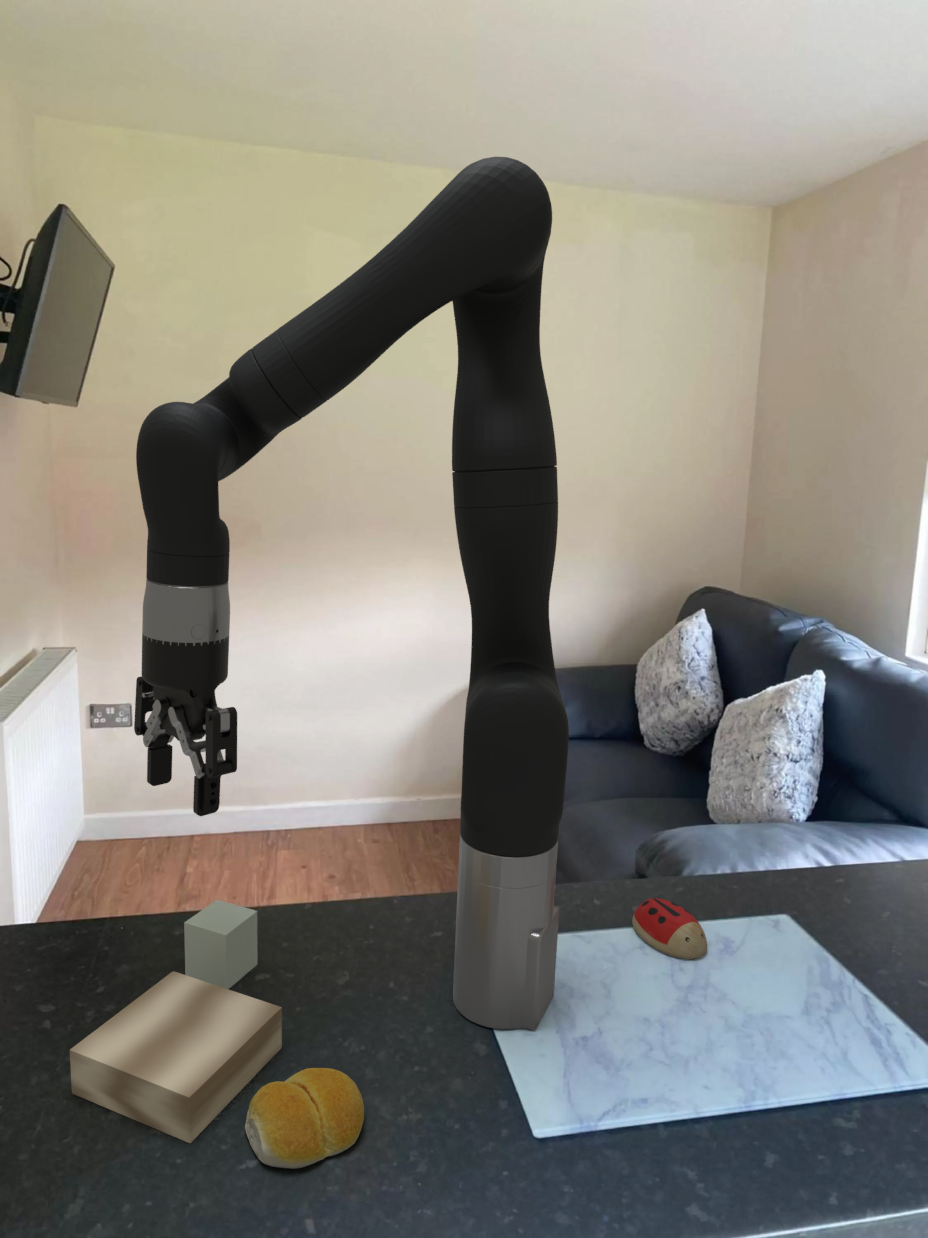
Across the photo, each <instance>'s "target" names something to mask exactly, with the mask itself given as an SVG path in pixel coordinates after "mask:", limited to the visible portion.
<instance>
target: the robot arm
mask: <svg viewBox="0 0 928 1238" xmlns="http://www.w3.org/2000/svg"><path fill="white" fill-rule="evenodd" d="M549 193H550V192H549V191H548V188H547V187H546V185H545V183H544V181H543V180H542V178H541V177H540V176H539V174H538V173H537V172H536V171H535V170H534V169H532V168H531V167H530V166H529V165H527V164H526V163H524V162H522V161H520V160H518V159H514V158H512V157H511V158H510V157H507V156H491V157H486V158H482V159H479V160H477V161H475V162H472V163H470V164H468V165H467V166H466V167H464V168H463V169H461V171H459V172H458V173H457V174H456V175H455V177H453V179H451V180H450V181H449V182H448V184H446V185H445V187H444V188H443V189H442V190H441V191H440V192H439V193H438V194H436V196H435V197H434V198H433V199H432V200H431V201H430V202H429V203H428V204H427V205H426V206H425V207H424V208H423V209H422V211H420V212H419V214H418V215H417V216H416V217H414V219H413V220H411V221H410V223H409V224H408V225H406V227H404V228H403V229H402V230H401V231H400V232H399V233H397V235H396V236H395V237H394V238H393V239H391V241H390V242H388V244H386V245H385V246H384V247H383V248H382V249H380V251H378V252H377V253H376V254H375V255H373V257H372V258H371V259H369V260H368V261H367V262H366V263H365V264H364V265H362V266H360V268H359V269H357V270H356V271H355V272H353V273H352V274H351V275H350V276H348V277H347V278H346V279H344V280H343V281H342V282H340V283H339V284H338V285H337V286H335V287H334V288H333V289H331V290H330V291H328V292H327V293H326V294H325V295H323V296H322V297H320V298H319V299H317V300H316V301H315V302H314V303H312V304H311V305H309V306H308V307H307V308H305V309H304V310H302V311H301V312H300V313H298V314H296V316H294V317H293V318H291V319H290V320H288V321H287V322H286V323H284V324H283V325H281V326H280V327H279V328H277V329H276V330H275V331H273V332H272V333H270V334H269V335H268V336H267V337H265V338H263V339H262V340H261V341H260V342H257V344H255V345H254V346H252V347H251V348H250V349H248V350H247V351H245V353H243V354H242V355H241V356H240V357H238V358H237V359H236V361H234V363H232V365H231V367H230V369H229V373H228V378H225V380H223V381H221V383H219V384H218V385H217V386H216V387H214V388H213V389H212V390H211V391H209V392H208V393H207V394H205V395H204V396H203V397H202V398H200V399H198V400H197V401H195V402H193V403H190V402H185V401H172V402H165V403H163V404H161V405H159V406H157V407H155V408H154V409H152V411H150V412H149V413H148V415H146V417H145V419H144V420H143V422H142V424H141V427H140V428H139V433H138V436H137V440H136V441H137V443H136V450H135V451H136V455H135V456H136V457H135V459H136V461H135V462H136V473H137V474H136V475H137V480H138V485H139V492H140V499H141V503H142V504H141V505H142V509H143V513H144V518H145V521H146V526H147V542H146V543H147V544H146V573H145V574H146V579H145V581H146V582H145V589H144V596H143V599H142V600H143V602H142V629H141V633H142V635H141V676H137V678H136V684H135V701H134V702H135V703H134V705H135V706H134V725H133V726H134V727H133V730H134V734H135V735H136V736H137V737H138V736H142V737H143V738H142V742H143V745H144V747H145V748H147V759H146V760H147V761H146V763H147V764H146V765H147V766H146V767H147V769H146V773H147V774H146V781H147V783H148V784H149V785H151V786H152V787H156V786H157V787H158V786H160V785H166V784H168V783H170V782H171V780H172V778H173V746H172V745H171V744H170V743H172V741H173V740H174V738H175V739H176V740H177V741H178V742H179V744H180V747H181V751H182V753H183V754H184V755H185V756H188V757H189V759H190V761H191V764H192V765H191V766H192V768H193V771H194V774H195V775H194V777H193V802H192V803H193V806H192V807H193V808H192V811H193V813H194V814H196V815H197V816H198V817H204V816H207V815H211V814H214V813H216V812H217V811H218V810H219V808H220V803H221V801H220V798H221V793H220V792H221V779H222V776H224V775H228V774H233V773H236V772H237V770H238V710H237V709H236V708H235V707H234V706H230V707H223V708H222V707H220V706H218V704H217V703H218V702H217V699H216V689H218V687H219V686H220V685H221V684H223V683H224V682H226V680H227V678H228V674H229V652H230V649H229V648H230V629H231V628H230V627H231V625H230V624H231V622H230V621H231V601H230V592H229V591H230V590H229V577H230V575H229V574H230V573H229V572H230V550H231V549H230V547H231V546H230V532H229V528H228V526H227V524H226V522H225V521H224V520H223V519H221V517H220V498H219V496H220V495H219V494H220V493H219V482H221V481H222V480H225V478H227V477H230V476H231V475H232V474H234V473H235V472H237V471H238V470H239V469H241V468H242V467H243V466H244V465H245V464H247V463H248V462H249V461H250V460H252V459H253V458H254V457H255V456H256V455H257V454H258V453H260V452H261V451H262V450H263V449H265V447H266V446H268V444H269V443H271V442H272V441H274V439H275V438H276V437H277V436H278V435H279V434H280V433H281V432H282V431H283V432H284V430H286V429H288V428H289V427H291V426H293V425H294V424H296V423H297V422H299V421H300V420H302V419H303V418H305V417H306V416H309V414H311V413H312V412H313V411H315V410H316V409H318V408H319V407H320V406H322V405H324V404H325V403H326V402H328V401H329V400H330V399H332V398H333V397H334V396H336V395H337V394H338V393H340V392H341V391H342V390H344V389H345V388H346V387H348V386H349V385H350V384H351V383H353V382H354V381H355V380H356V379H358V378H359V377H360V376H361V375H362V374H363V373H364V372H365V371H366V370H367V369H369V367H371V365H372V364H374V363H375V362H376V361H377V360H378V359H379V358H380V357H381V356H382V355H383V354H385V352H386V351H388V350H389V348H391V347H392V346H393V345H394V344H395V343H396V342H397V341H398V340H400V339H401V338H402V337H403V336H404V335H405V334H406V333H408V332H409V331H410V330H412V329H413V328H414V327H416V326H417V325H418V324H419V323H420V322H422V321H423V320H425V319H426V318H428V317H429V316H431V315H432V314H434V313H435V312H436V311H438V310H440V309H441V308H443V307H444V306H446V305H448V304H450V303H451V302H452V307H453V316H454V324H455V331H456V339H457V340H456V341H457V343H456V345H457V374H456V381H455V383H456V384H455V394H454V405H453V414H452V415H453V417H452V431H451V432H452V435H451V437H452V438H451V471H452V474H451V476H452V489H453V490H452V491H453V493H452V495H453V506H454V507H453V510H454V520H455V529H456V536H457V538H456V539H457V543H458V549H459V555H460V556H459V557H460V561H461V565H462V569H463V576H464V579H465V584H466V585H465V586H466V589H467V594H468V598H469V603H470V614H471V616H470V617H471V647H470V648H471V649H470V651H471V652H470V666H469V667H470V669H469V671H470V672H469V682H468V689H467V690H468V691H467V697H466V702H465V715H464V727H463V741H462V742H463V743H462V744H463V745H462V770H461V795H460V822H459V823H460V825H459V827H460V828H459V852H458V853H459V854H458V868H457V869H458V871H457V873H458V874H457V893H456V895H457V896H456V897H457V898H456V914H455V915H456V916H455V917H456V918H455V938H454V939H455V940H454V958H453V959H454V961H453V962H454V964H453V965H454V967H453V976H452V977H453V978H452V985H453V988H452V989H453V990H452V1000H453V1004H454V1006H455V1008H456V1009H457V1011H458V1013H460V1014H461V1015H462V1016H463V1017H465V1019H467V1020H469V1021H470V1022H473V1023H475V1024H477V1025H480V1026H481V1027H482V1026H483V1027H486V1028H491V1029H498V1030H511V1029H520V1028H522V1029H528V1030H531V1031H535V1030H536V1029H537V1028H538V1025H539V1023H540V1022H541V1020H542V1018H543V1016H544V1014H545V1012H546V1010H547V1009H548V1007H549V1005H550V1003H551V1001H552V1000H553V998H554V995H555V981H556V965H557V964H556V963H557V951H558V938H559V936H558V935H559V923H560V922H559V921H560V908H559V907H557V906H555V905H554V903H555V892H556V891H555V888H556V876H557V860H558V844H559V843H558V842H559V833H560V832H559V831H560V825H561V824H560V823H561V820H562V817H563V813H564V806H565V805H564V804H565V803H564V801H565V791H566V779H567V778H566V777H567V770H568V769H567V768H568V766H567V765H568V755H569V742H570V741H569V739H570V738H569V737H570V735H569V734H570V729H569V728H570V727H569V718H568V713H567V711H566V708H565V703H564V701H563V697H562V695H561V691H560V687H559V684H558V683H559V682H558V678H557V672H556V667H555V659H554V652H553V643H552V636H551V635H552V634H551V627H550V626H551V625H550V624H551V623H550V595H551V586H552V580H553V579H552V578H553V574H554V567H555V558H556V550H557V541H558V526H559V525H558V524H559V495H558V494H559V490H558V489H559V487H558V485H559V484H558V467H557V466H558V457H557V448H556V438H555V437H556V436H555V430H554V429H555V428H554V423H553V416H552V409H551V404H550V400H549V399H550V397H549V393H548V390H547V384H546V380H545V374H544V369H543V362H542V356H541V339H540V338H541V337H540V336H541V333H540V332H541V331H540V329H541V328H540V327H541V306H542V305H541V303H542V302H541V301H542V286H543V274H544V264H545V259H546V257H545V256H546V255H547V253H546V252H547V250H548V245H549V241H550V238H551V234H552V227H553V207H552V202H551V198H550V194H549ZM150 712H151V713H150ZM147 713H150V715H149V717H148V718H147V721H146V714H147ZM204 737H205V740H202V739H203V738H204ZM197 740H200V741H197ZM222 750H224V753H225V754H224V756H223V753H222ZM202 753H205V762H204V759H203V756H202Z"/></svg>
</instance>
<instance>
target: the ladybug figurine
mask: <svg viewBox="0 0 928 1238" xmlns="http://www.w3.org/2000/svg"><path fill="white" fill-rule="evenodd" d="M631 920H632V921H631V923H632V927H633V929H634V931H635V932H636V934H637V935H638V936H639V937H640V938H641V939H642V940H643V941H644V942H645V943H647V944H648V945H649V946H651V947H652V948H653V949H656V950H658V951H659V952H661V953H662V954H665V953H666V955H668V956H670V955H671V957H673V956H674V957H675V958H677V957H678V959H683V958H685V960H694V959H693V958H695V959H698V958H701V957H702V956H704V955H705V954H706V952H707V949H708V941H707V937H706V934H705V931H704V928H702V925H701V924H700V922H699V921H698V920H697V918H695V917H694V916H693V915H692V914H691V913H690V912H689V911H688V910H687V909H685V908H683V907H682V906H680V905H679V904H676V903H674V902H673V901H669V900H667V899H663V898H659V897H655V898H653V897H651V898H647V899H646V900H644V901H643V902H642V903H640V904H639V905H638V906H637V908H636V909H635V911H634V913H633V915H632V919H631Z"/></svg>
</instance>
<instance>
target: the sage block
mask: <svg viewBox="0 0 928 1238" xmlns="http://www.w3.org/2000/svg"><path fill="white" fill-rule="evenodd" d="M183 924H184V925H183V927H184V935H183V936H184V971H185V974H184V975H186V976H189V977H192V978H195V979H198V980H201V981H204V982H207V983H210V984H213V985H216V986H220V987H223V988H226V989H229V990H230V988H233V986H234V985H236V983H237V982H239V981H240V980H241V979H242V978H243V977H245V976H246V975H247V974H249V972H250V971H252V970H253V969H254V968H255V967H256V966H257V965H258V959H259V958H258V957H259V956H258V910H256V909H255V910H254V909H251V908H248V907H244V906H241V905H238V904H234V903H230V902H226V901H223V900H220V899H216V900H214V901H212V903H210V904H209V905H207V906H206V907H204V908H202V909H201V910H200V911H199V912H198V913H196V914H194V915H193V916H192V917H190V918H188V919H187V920H186V921H184V923H183Z"/></svg>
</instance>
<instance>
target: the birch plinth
mask: <svg viewBox="0 0 928 1238" xmlns="http://www.w3.org/2000/svg"><path fill="white" fill-rule="evenodd" d="M282 1013H283V1007H282V1006H279V1005H276V1004H273V1003H270V1002H267V1001H264V1000H263V999H262V1000H261V999H258V998H256V997H253V996H252V997H251V996H249V995H246V994H243V993H240V992H238V991H235V990H231V989H230V988H229V989H226V988H223V987H220V986H216V985H213V984H210V983H207V982H204V981H201V980H198V979H195V978H192V977H189V976H186V975H185V974H183V973H180V972H177V971H171V972H170V973H168V974H167V975H166V976H164V977H163V978H162V979H161V980H160V981H158V982H157V983H155V984H154V985H152V986H151V987H150V988H149V989H147V991H145V992H144V993H142V994H141V995H139V996H138V997H137V998H136V999H134V1000H133V1001H132V1002H130V1003H129V1004H128V1005H126V1006H125V1007H123V1009H121V1010H120V1011H119V1012H118V1013H116V1014H114V1016H113V1017H111V1018H110V1019H108V1020H107V1021H106V1022H104V1023H103V1024H102V1025H100V1026H99V1027H98V1028H97V1029H95V1030H94V1031H92V1032H91V1033H90V1034H88V1035H87V1036H86V1037H85V1038H83V1039H82V1040H81V1041H79V1042H78V1043H76V1044H75V1045H73V1047H72V1048H70V1049H69V1063H70V1064H69V1065H70V1080H71V1081H70V1084H71V1085H70V1086H71V1095H74V1096H76V1097H78V1098H82V1099H84V1100H87V1101H89V1102H92V1103H94V1104H95V1105H98V1106H101V1107H103V1108H105V1109H108V1110H110V1111H112V1112H115V1113H117V1114H119V1115H122V1116H124V1117H127V1118H128V1119H131V1120H133V1121H136V1122H138V1123H140V1124H144V1125H145V1126H148V1127H150V1128H153V1129H155V1130H157V1131H160V1132H162V1133H164V1134H166V1135H169V1136H172V1137H174V1138H175V1139H176V1138H177V1140H181V1141H183V1142H186V1143H188V1144H192V1142H194V1141H195V1139H196V1138H198V1137H199V1135H200V1133H202V1132H203V1131H204V1130H205V1129H206V1127H208V1125H210V1124H211V1123H212V1121H213V1120H214V1119H216V1118H217V1116H218V1115H219V1114H220V1113H221V1112H222V1111H223V1110H224V1109H225V1108H226V1107H227V1106H228V1104H230V1102H232V1101H233V1099H235V1097H236V1096H237V1095H238V1094H239V1093H240V1092H241V1091H242V1090H243V1089H244V1088H245V1087H246V1086H247V1085H248V1084H249V1083H250V1082H251V1080H252V1079H254V1077H256V1075H257V1074H258V1073H259V1072H260V1071H261V1070H262V1069H263V1068H264V1067H265V1066H266V1065H267V1064H268V1062H270V1061H271V1060H272V1058H273V1057H274V1056H275V1055H276V1054H278V1052H279V1051H280V1050H281V1049H282V1048H283V1047H282V1046H283V1045H282V1043H283V1041H282V1040H283V1033H282V1032H283V1028H282V1027H283V1022H282V1021H283V1017H282V1016H283V1014H282Z"/></svg>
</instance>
